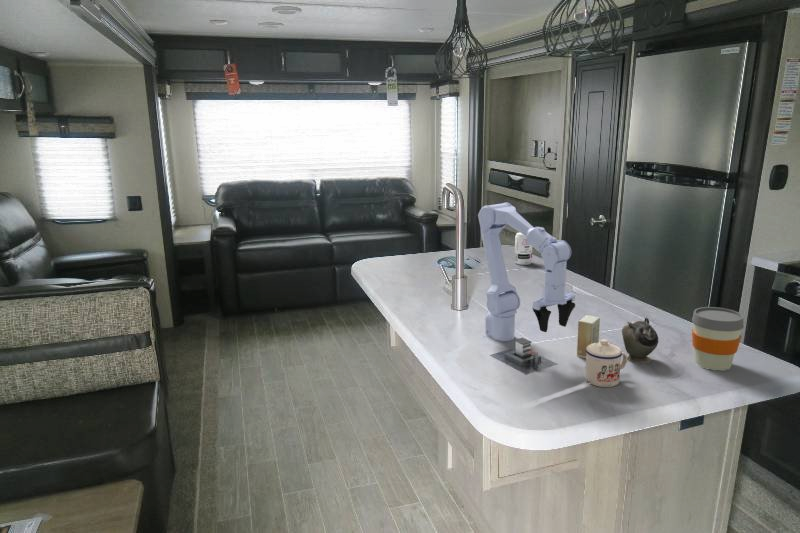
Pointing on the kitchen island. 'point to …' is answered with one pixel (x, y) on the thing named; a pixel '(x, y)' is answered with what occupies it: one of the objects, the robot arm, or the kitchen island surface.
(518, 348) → the grey ribbed block
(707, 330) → the reusable coffee cup
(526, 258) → the supplement can
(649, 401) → the kitchen island surface
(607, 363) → the teacup with lid
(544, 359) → the stand base
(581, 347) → the skincare box
